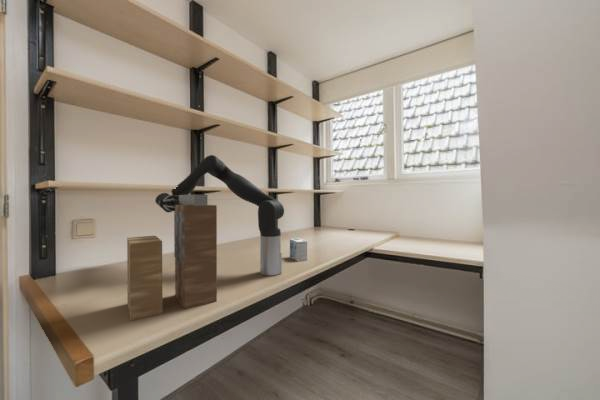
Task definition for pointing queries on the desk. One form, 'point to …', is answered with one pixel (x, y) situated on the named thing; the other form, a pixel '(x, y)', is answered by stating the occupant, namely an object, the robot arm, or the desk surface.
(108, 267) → the desk surface
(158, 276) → the oak step
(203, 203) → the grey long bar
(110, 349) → the desk surface
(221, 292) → the desk surface
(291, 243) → the light bulb box
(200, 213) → the tall brown wooden block
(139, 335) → the desk surface
